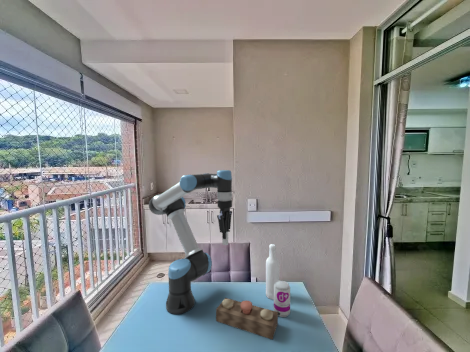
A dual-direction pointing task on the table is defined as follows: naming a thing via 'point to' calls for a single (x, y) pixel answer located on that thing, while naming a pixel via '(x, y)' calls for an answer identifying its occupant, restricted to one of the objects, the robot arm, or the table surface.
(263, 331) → the socket board
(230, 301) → the maple plug
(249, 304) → the brick-red plug
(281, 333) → the table surface
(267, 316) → the maple plug
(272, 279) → the bottle
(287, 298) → the supplement can
